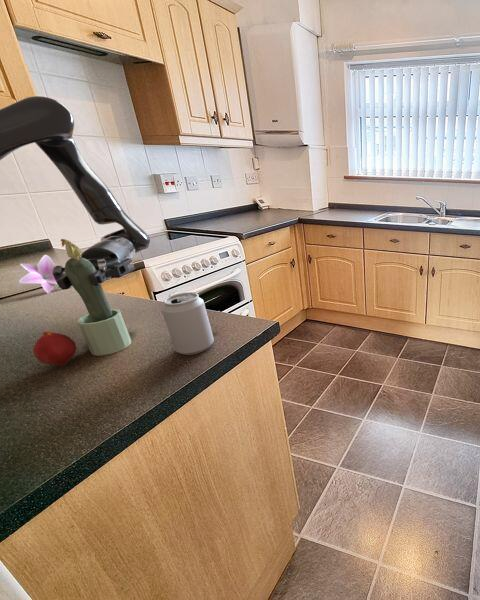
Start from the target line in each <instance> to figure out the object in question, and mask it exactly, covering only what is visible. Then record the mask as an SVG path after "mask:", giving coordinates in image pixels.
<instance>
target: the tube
mask: <svg viewBox="0 0 480 600" xmlns="http://www.w3.org/2000/svg"><path fill="white" fill-rule="evenodd" d="M111 310H112V314H113V317H112V318H109V319H106V320H103V321H99V322H93V320H92V318H91V316H90V314H89V313H88V314H85V315H83V316H81V317H79V318H78V319H77V320H76V321H77V322H76V323H77V325H78V326H79V327H78V328H79V330H80V332H81V335H82V336H83V338H84V341H85V343H86V346H87V347H88V350H89V351H90V354H91V355H93V356H99V357H100V356H108V355H112V354H115V353H118V352H120V351H123V350H125V349H126V348H128V347H130V345H131V344H132V338H131V336H130V332H129V330H128V327H127V326H126V323H125V320H124V317H123V315H122V312H121V311H120V309H116V308H114V309H112V308H111Z"/></svg>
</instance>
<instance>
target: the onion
mask: <svg viewBox="0 0 480 600" xmlns="http://www.w3.org/2000/svg"><path fill="white" fill-rule="evenodd" d="M32 352H33V355H34V357H35V358H36V359H37V360H38V361H39V362H40V363H42V364H46V365H50V366H58V367H63V366H66V365H67V364H68V363H69V362H70V361H71V359H72V358H73V357H74V355H75V354H76V352H77V345H76V343H75V341H74V340H73V339H72V338H71V337H70V336H68V335H66V334H63V333H59V332H54V331H52V330H48V329H47V330H44V331H43V333H42V335H41V336H40V337H39V338H38V339H37V340H36V341H35V344H34V346H33V350H32Z"/></svg>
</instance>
